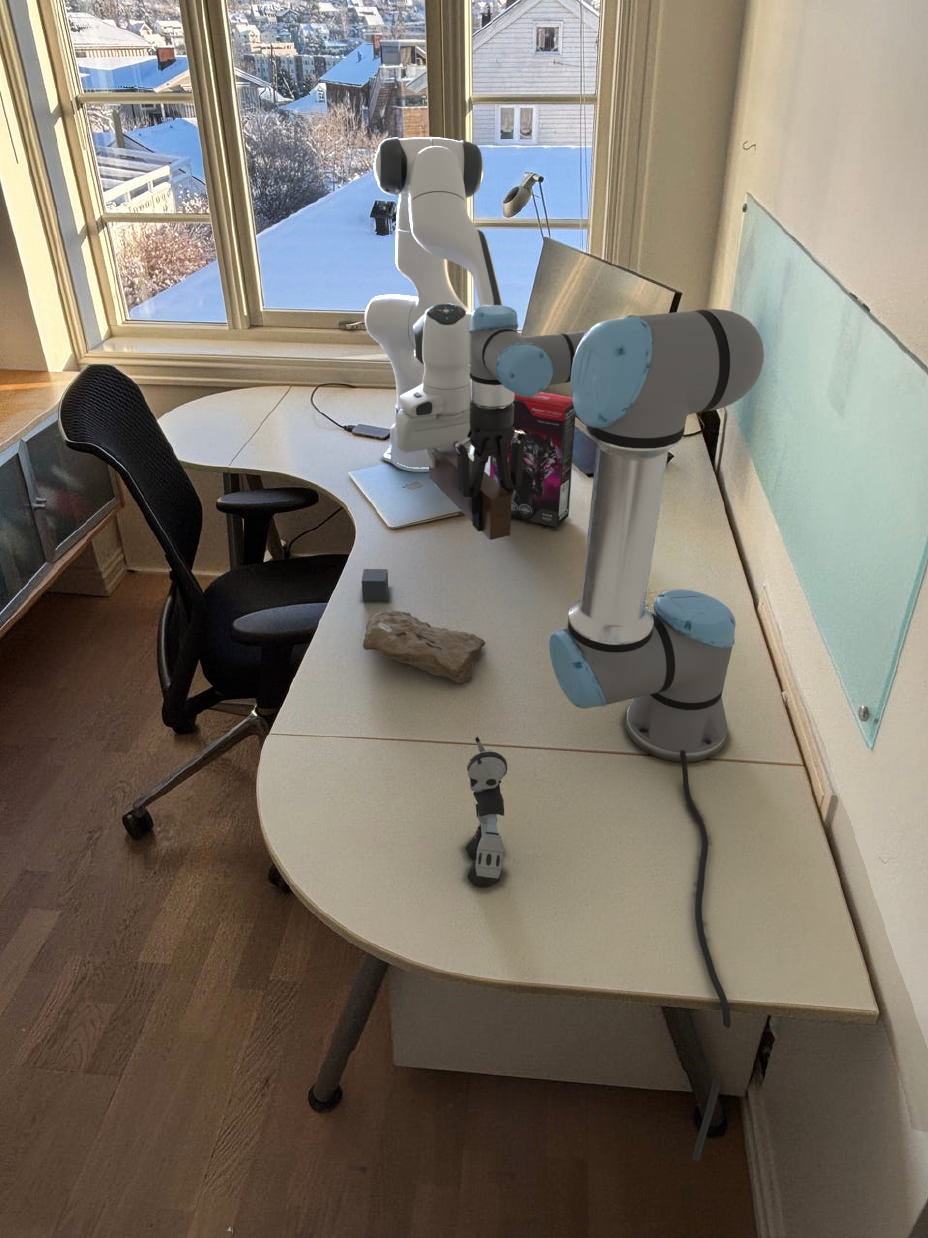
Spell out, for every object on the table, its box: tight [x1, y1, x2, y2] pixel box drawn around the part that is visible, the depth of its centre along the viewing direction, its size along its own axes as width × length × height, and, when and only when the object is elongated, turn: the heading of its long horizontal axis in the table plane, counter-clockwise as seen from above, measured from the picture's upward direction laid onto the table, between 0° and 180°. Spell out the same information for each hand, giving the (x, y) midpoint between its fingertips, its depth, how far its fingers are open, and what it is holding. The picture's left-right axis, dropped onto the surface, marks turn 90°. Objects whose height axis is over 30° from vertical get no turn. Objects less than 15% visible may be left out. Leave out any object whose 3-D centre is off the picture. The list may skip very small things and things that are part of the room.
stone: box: [362, 609, 486, 684], centre depth 156 cm, size 21×15×6 cm
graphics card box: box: [489, 391, 577, 528], centre depth 195 cm, size 17×7×27 cm, turn 62°
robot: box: [465, 736, 508, 888], centre depth 115 cm, size 20×5×20 cm, turn 3°
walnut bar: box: [428, 445, 512, 541], centre depth 173 cm, size 28×4×8 cm, turn 25°
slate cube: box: [361, 568, 389, 603], centre depth 174 cm, size 4×4×4 cm
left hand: (446, 464), depth 180 cm, fingers closed on walnut bar, 4 cm apart
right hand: (488, 525), depth 168 cm, fingers closed on walnut bar, 4 cm apart
